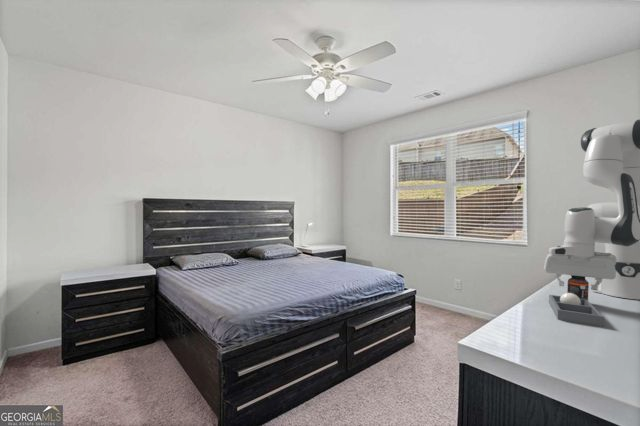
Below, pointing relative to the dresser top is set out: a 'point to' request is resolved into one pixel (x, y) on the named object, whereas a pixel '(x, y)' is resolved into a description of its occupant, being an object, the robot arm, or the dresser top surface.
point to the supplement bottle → (578, 286)
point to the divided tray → (576, 311)
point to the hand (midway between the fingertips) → (577, 287)
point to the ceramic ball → (570, 299)
